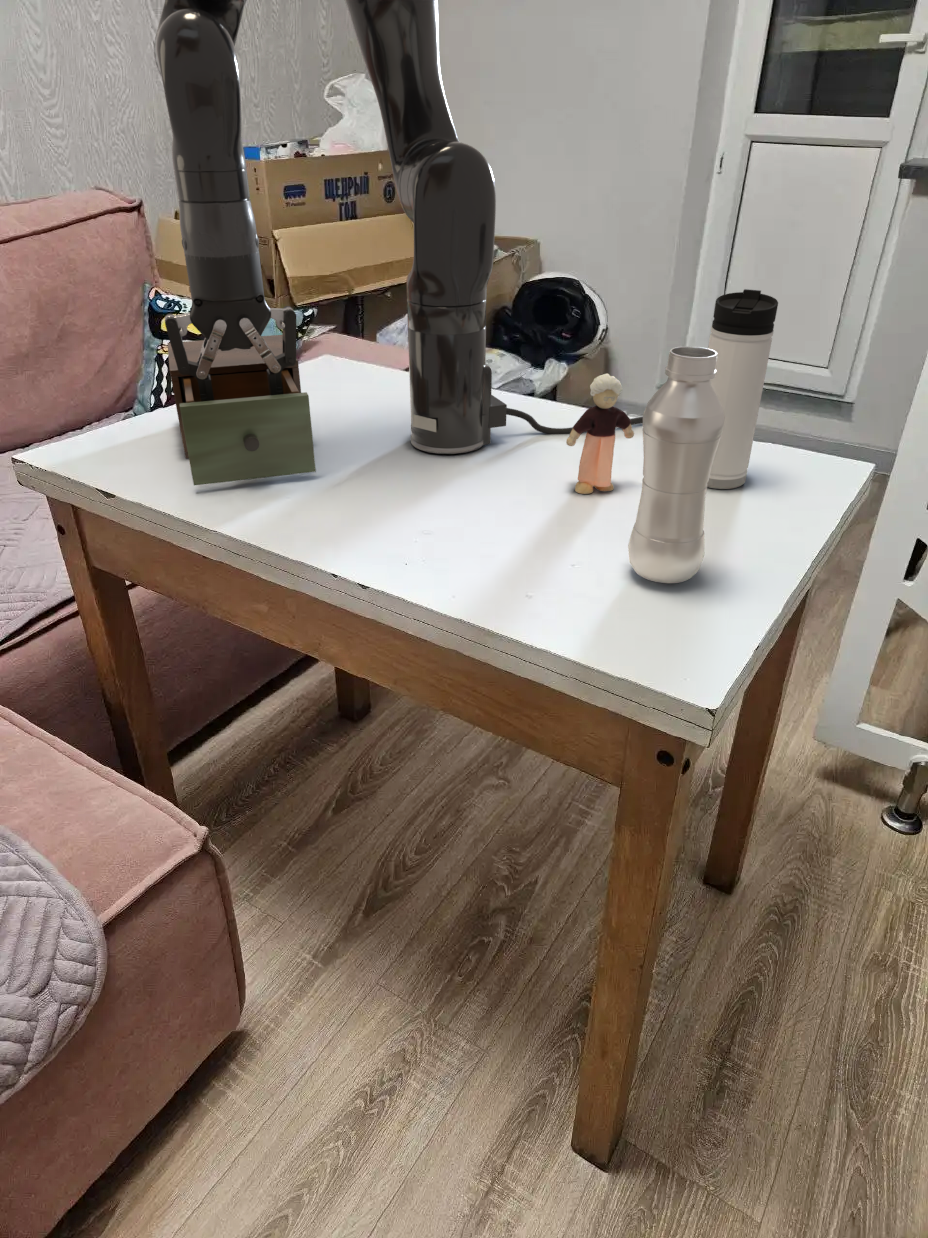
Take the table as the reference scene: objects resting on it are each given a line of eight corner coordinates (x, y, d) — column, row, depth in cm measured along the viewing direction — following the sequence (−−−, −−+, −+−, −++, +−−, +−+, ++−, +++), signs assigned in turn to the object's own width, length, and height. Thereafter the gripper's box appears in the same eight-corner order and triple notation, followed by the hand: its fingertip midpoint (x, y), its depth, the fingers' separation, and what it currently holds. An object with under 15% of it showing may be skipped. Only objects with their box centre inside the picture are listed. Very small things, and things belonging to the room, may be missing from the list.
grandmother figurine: (578, 500, 91) (587, 383, 85) (559, 487, 94) (566, 373, 88) (635, 487, 94) (649, 373, 88) (615, 475, 97) (626, 364, 91)
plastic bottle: (701, 596, 74) (741, 364, 63) (623, 588, 75) (649, 359, 64) (699, 562, 79) (735, 344, 69) (625, 555, 80) (650, 340, 70)
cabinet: (306, 446, 106) (298, 360, 100) (185, 458, 102) (169, 370, 96) (291, 413, 117) (282, 334, 111) (181, 423, 113) (167, 342, 107)
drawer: (317, 475, 95) (310, 398, 90) (194, 489, 91) (180, 410, 87) (299, 436, 106) (292, 365, 101) (189, 447, 102) (176, 374, 98)
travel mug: (749, 473, 98) (784, 291, 88) (740, 493, 93) (775, 303, 82) (695, 464, 100) (723, 286, 90) (683, 484, 95) (710, 297, 85)
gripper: (286, 240, 92) (302, 392, 101) (148, 245, 88) (176, 403, 97) (296, 249, 86) (312, 410, 95) (148, 256, 82) (178, 423, 91)
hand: (243, 406), depth 96 cm, fingers open, 6 cm apart
